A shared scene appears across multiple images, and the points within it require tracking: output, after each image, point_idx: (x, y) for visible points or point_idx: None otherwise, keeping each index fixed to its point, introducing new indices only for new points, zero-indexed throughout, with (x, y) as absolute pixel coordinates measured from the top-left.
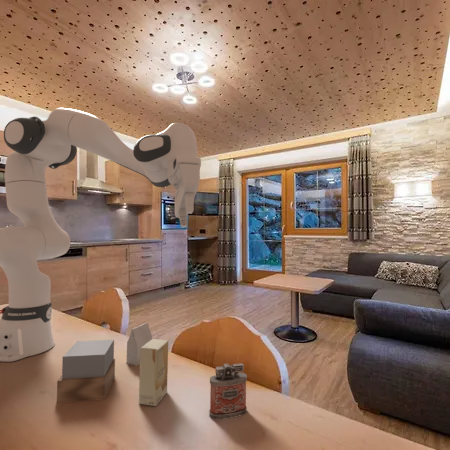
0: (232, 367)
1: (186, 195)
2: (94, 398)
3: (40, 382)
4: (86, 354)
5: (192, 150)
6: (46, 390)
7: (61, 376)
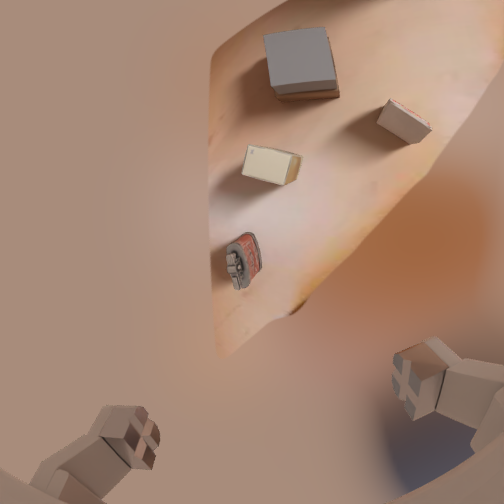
0: (231, 275)
1: (40, 471)
2: None
3: (319, 16)
4: (271, 60)
5: None
6: None
7: None
